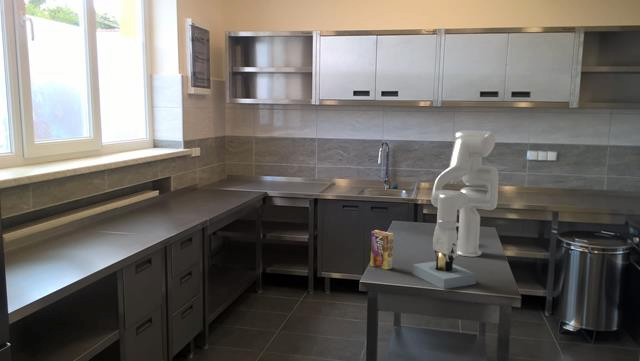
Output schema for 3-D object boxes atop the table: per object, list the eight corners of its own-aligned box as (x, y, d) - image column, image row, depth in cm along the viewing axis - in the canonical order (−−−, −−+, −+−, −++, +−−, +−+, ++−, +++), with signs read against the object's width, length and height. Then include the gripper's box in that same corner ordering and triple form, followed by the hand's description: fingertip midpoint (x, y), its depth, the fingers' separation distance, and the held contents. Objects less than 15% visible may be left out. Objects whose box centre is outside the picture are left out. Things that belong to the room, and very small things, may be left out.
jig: (412, 273, 218) (412, 264, 218) (443, 269, 225) (444, 260, 225) (443, 289, 201) (443, 278, 200) (476, 283, 207) (476, 274, 207)
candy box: (392, 268, 226) (394, 233, 223) (386, 270, 222) (388, 234, 220) (376, 263, 232) (377, 229, 229) (370, 265, 228) (371, 231, 226)
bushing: (434, 270, 214) (436, 251, 213) (444, 269, 216) (445, 250, 215) (442, 274, 209) (443, 254, 208) (452, 272, 211) (453, 253, 210)
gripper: (425, 220, 216) (423, 263, 218) (453, 229, 201) (450, 276, 203) (440, 219, 219) (438, 261, 222) (468, 228, 204) (465, 273, 206)
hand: (444, 268), depth 212 cm, fingers closed on bushing, 4 cm apart
